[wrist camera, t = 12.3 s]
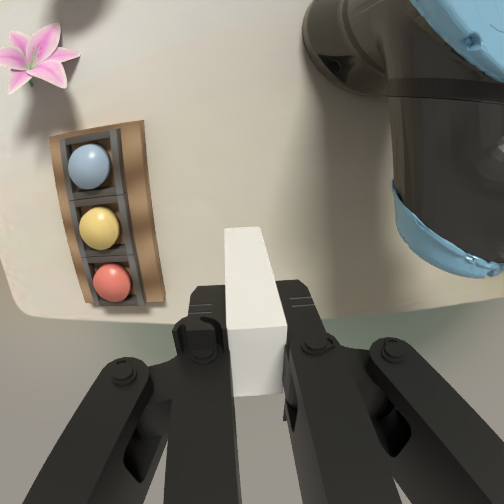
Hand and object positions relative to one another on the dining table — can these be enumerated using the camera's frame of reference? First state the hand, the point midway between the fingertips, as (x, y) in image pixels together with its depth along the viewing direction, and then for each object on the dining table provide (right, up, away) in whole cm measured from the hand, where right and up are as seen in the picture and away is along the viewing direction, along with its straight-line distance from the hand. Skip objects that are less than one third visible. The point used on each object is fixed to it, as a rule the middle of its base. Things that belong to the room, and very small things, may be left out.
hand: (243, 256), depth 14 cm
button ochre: (-18, +3, +21) cm, 28 cm away
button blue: (-18, +10, +18) cm, 27 cm away
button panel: (-18, +5, +23) cm, 30 cm away
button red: (-17, -3, +24) cm, 30 cm away
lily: (-25, +24, +14) cm, 37 cm away
